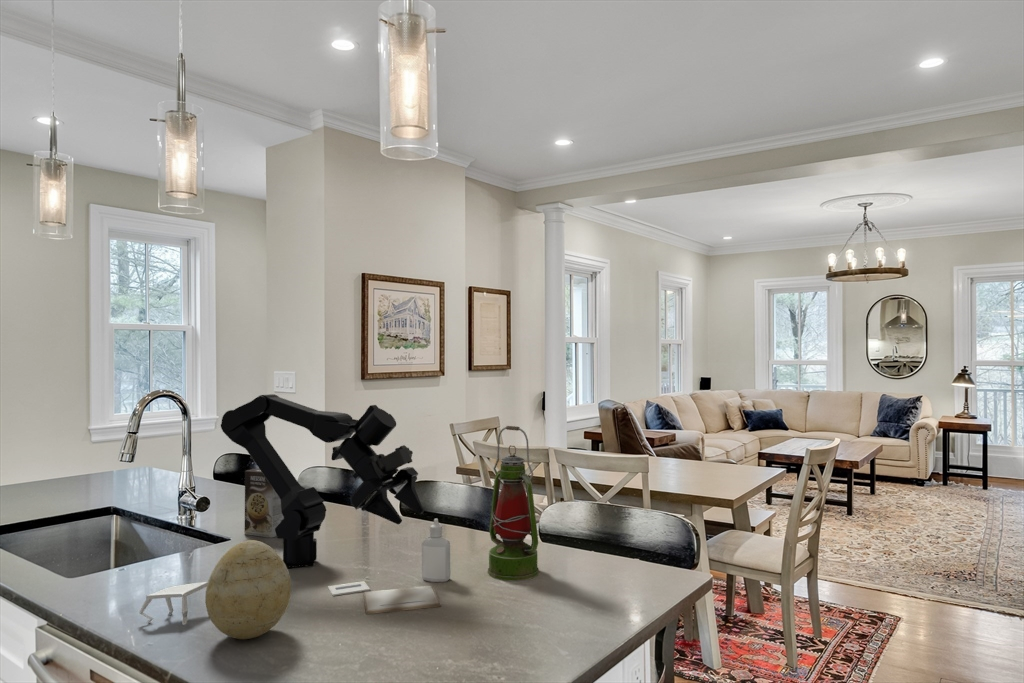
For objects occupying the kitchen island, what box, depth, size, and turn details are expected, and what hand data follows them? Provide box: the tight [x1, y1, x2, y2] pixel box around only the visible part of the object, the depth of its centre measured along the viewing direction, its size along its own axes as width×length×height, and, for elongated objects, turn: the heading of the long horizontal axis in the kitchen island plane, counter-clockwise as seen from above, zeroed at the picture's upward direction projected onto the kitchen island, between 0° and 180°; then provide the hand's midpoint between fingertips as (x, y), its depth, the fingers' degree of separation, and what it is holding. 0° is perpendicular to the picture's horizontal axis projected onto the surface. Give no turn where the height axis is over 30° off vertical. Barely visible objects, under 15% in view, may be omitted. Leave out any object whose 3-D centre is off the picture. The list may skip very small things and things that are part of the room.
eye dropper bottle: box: [421, 518, 451, 583], centre depth 134 cm, size 4×6×12 cm
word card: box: [327, 580, 371, 597], centre depth 129 cm, size 7×5×1 cm
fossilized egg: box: [204, 539, 292, 640], centre depth 107 cm, size 13×13×15 cm
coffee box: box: [243, 468, 284, 538], centre depth 171 cm, size 9×6×16 cm
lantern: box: [487, 425, 540, 582], centre depth 139 cm, size 14×11×30 cm
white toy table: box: [139, 581, 208, 626], centre depth 116 cm, size 12×8×5 cm
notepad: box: [362, 585, 442, 615], centre depth 122 cm, size 13×10×1 cm
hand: (411, 517), depth 136 cm, fingers open, 9 cm apart
